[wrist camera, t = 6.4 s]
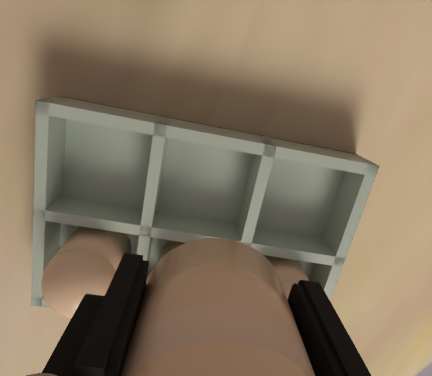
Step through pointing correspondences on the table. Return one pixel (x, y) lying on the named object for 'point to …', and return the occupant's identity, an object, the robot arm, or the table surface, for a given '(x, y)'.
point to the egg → (215, 316)
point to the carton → (180, 198)
